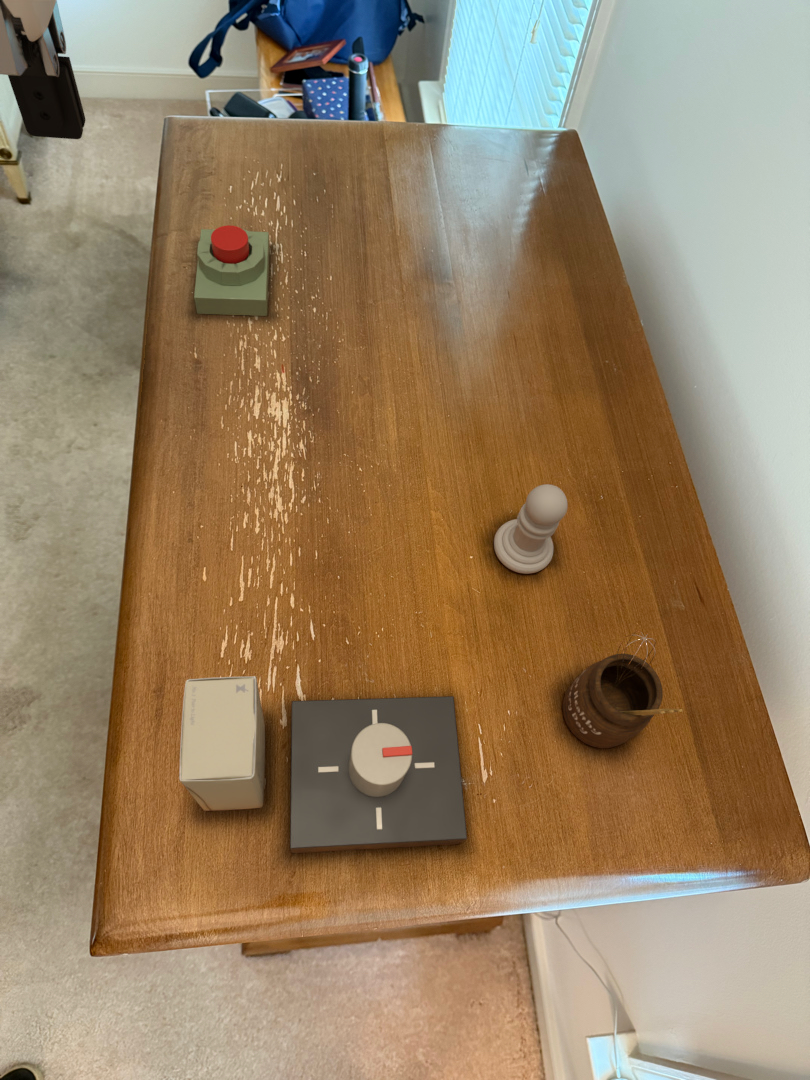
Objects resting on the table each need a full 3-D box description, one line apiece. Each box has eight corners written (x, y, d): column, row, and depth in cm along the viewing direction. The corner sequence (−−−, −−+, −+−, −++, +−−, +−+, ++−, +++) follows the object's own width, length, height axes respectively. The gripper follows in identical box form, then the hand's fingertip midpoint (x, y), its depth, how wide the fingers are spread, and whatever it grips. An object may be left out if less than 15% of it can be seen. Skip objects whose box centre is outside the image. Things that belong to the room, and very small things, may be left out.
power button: (211, 263, 73) (209, 249, 71) (214, 238, 75) (211, 224, 73) (248, 265, 73) (247, 250, 72) (250, 240, 75) (248, 226, 74)
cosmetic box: (207, 726, 55) (182, 674, 44) (268, 723, 56) (257, 671, 45) (203, 815, 52) (174, 782, 41) (266, 811, 53) (255, 778, 42)
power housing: (196, 314, 74) (191, 283, 71) (203, 245, 79) (198, 213, 76) (267, 316, 75) (264, 285, 72) (269, 248, 80) (267, 217, 76)
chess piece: (537, 516, 67) (566, 460, 59) (561, 567, 65) (595, 515, 57) (483, 530, 66) (506, 474, 58) (506, 582, 63) (533, 531, 56)
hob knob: (350, 799, 51) (353, 786, 46) (346, 741, 53) (349, 723, 48) (407, 794, 51) (415, 781, 47) (402, 736, 53) (409, 719, 49)
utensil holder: (621, 673, 61) (685, 616, 50) (642, 750, 58) (715, 707, 47) (552, 680, 60) (603, 624, 49) (571, 759, 57) (629, 717, 46)
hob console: (291, 853, 51) (289, 848, 49) (292, 712, 56) (291, 700, 53) (459, 844, 53) (467, 838, 50) (447, 707, 58) (454, 695, 55)
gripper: (-125, -380, 33) (15, 57, 48) (-245, -262, 25) (-34, 205, 41) (54, -352, 34) (134, 67, 50) (-13, -232, 26) (106, 213, 42)
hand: (57, 129), depth 45 cm, fingers closed
